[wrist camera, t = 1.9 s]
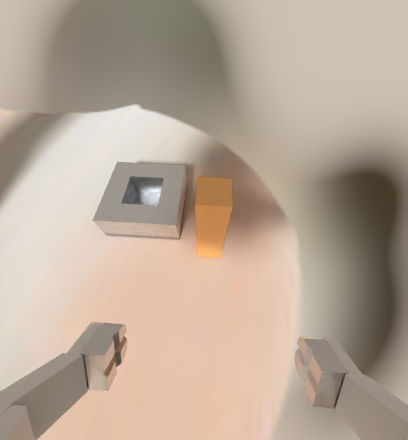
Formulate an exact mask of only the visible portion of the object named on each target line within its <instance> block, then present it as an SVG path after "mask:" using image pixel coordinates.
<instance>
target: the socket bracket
mask: <svg viewBox="0 0 408 440" xmlns="http://www.w3.org/2000/svg"><path fill="white" fill-rule="evenodd" d="M186 188H187V178H186V169H185V165H170V164H149V163H129V162H117V164H116V166H115V169H114V171H113V173H112V176H111V178H110V180H109V183H108V185H107V188H106V190H105V192H104V195H103V197H102V200H101V202H100V204H99V207H98V209H97V211H96V214H95V216H94V219H93V221H94V222H95V223H96V224H97V225H98V226H99V227H100V228H101V229H102V231H103V232H104V233H105V234H106V235H111V236H128V237H146V238H163V239H179V238H180V231H181V224H182V217H183V209H184V202H185V195H186Z"/></svg>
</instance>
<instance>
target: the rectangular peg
mask: <svg viewBox="0 0 408 440" xmlns="http://www.w3.org/2000/svg"><path fill="white" fill-rule="evenodd" d="M232 208H233V193H232V178H213V177H198V179H197V189H196V198H195V217H196V234H197V251H198V257H211V258H220V257H221V253H222V249H223V245H224V241H225V237H226V233H227V228H228V224H229V220H230V216H231V212H232Z"/></svg>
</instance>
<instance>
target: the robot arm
mask: <svg viewBox="0 0 408 440" xmlns="http://www.w3.org/2000/svg"><path fill="white" fill-rule="evenodd" d="M125 333H126V326H125V325H122V324H111V323H99V322H93V323H91V324H90V325H89V326H88V327H87V328H86V330H85V331H84V332H83V333H82V335H81V336H80V337H79V338H78V340H77V341H76V342H75V343H74V345H73V346H72V347H71V348H70V350H69V351H68V352H67V353H63V354H61V355H59V356H58V357H56V358H55V359H53V360H51V361H50V362H48V363H46V364H45V365H43V366H41V367H40V368H38V369H37V370H35V371H33V372H32V373H30V374H28V375H27V376H25V377H23V378H22V379H20V380H19V381H17V382H15V383H14V384H12V385H10V386H9V387H7V388H5V389H4V390H2V391H1V392H0V440H37V439H38V438H39V437H40V436H41V435H42V434H43V433H44V432H45V431H46V430H47V429H49V428H50V427H51V426H52V425H53V424H54V423H55V422H56V421H57V420H58V419H59V418H60V417H61V416H62V415H63V414H64V413H65V412H66V411H67V410H68V409H69V408H71V407H72V406H73V405H74V404H75V403H76V402H77V401H78V400H79V399H80V398H81V397H82V396H83V395H84V394H85V393H86V392H87V391H88V390H109V388H110V386H111V384H112V382H113V380H114V378H115V376H116V374H117V373H116V367H117V366H119V365H120V364H121V363H122V361H123V358H124V356H125V353H126V349H127V339H126V338H125V336H124V335H125ZM297 344H298V346H299V349H298V350H297V351H296V353H295V365H296V368H297V371H298V374H299V376H300V377H301V378H302V379H303V380H304V381H305V382H306V383H305V390H306V392H307V394H308V397H309V399H310V401H311V403H312V406H314V407H323V408H332V409H335V411H336V412H337V413H338V414H339V415H340V417H341V418H342V419H343V420H344V421H345V422H346V423H347V424H348V425H349V427H350V428H351V429H352V430H353V431H354V432H355V433H356V434H357V435H358V437H359V438H360V439H361V440H408V405H406V404H405V403H404V402H402V401H401V400H400V399H398V398H397V397H395V396H394V395H393V394H391V393H390V392H389V391H387V390H386V389H384V388H383V387H382V386H380V385H379V384H378V383H376V382H375V381H373V380H372V379H371V378H369V377H368V376H365V375H362V374H361V372H360V371H359V369H358V368H357V367H356V365H355V364H354V363H353V362H352V361H351V359H350V358H349V356H348V355H347V354H346V352H345V351H344V350H343V348H342V347H341V346H340V344H339V343H338V342H337V341H336V340H335V339H329V338H313V337H300V338H299V339H298V343H297Z"/></svg>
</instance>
